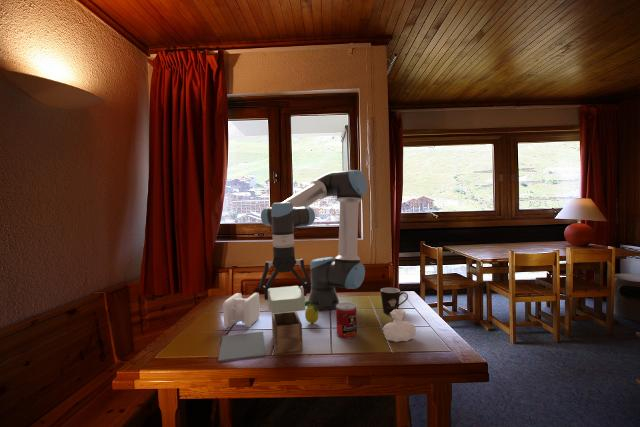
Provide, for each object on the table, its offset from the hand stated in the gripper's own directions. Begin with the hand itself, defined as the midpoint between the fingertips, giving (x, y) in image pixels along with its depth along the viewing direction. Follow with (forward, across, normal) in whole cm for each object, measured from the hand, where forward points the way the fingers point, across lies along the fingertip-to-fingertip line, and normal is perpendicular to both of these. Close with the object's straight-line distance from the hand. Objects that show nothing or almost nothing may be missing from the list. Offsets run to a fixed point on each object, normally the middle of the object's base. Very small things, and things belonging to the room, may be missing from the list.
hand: (286, 306), depth 119 cm
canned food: (+14, +23, +2) cm, 26 cm away
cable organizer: (+14, -16, +25) cm, 33 cm away
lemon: (+14, +12, +16) cm, 24 cm away
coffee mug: (+14, +50, +19) cm, 55 cm away
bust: (+14, +40, -7) cm, 43 cm away
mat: (+13, -16, +2) cm, 21 cm away
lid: (-1, 0, 0) cm, 1 cm away
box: (+13, 0, 0) cm, 13 cm away
